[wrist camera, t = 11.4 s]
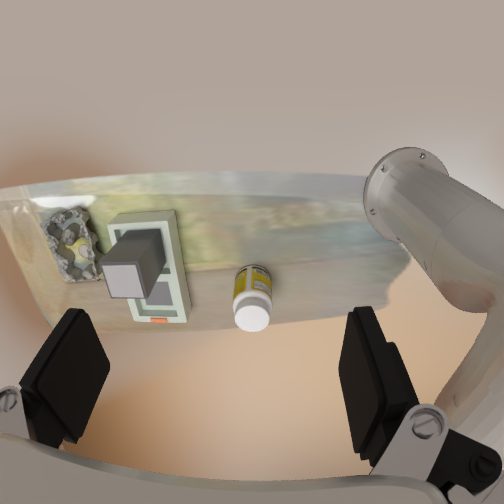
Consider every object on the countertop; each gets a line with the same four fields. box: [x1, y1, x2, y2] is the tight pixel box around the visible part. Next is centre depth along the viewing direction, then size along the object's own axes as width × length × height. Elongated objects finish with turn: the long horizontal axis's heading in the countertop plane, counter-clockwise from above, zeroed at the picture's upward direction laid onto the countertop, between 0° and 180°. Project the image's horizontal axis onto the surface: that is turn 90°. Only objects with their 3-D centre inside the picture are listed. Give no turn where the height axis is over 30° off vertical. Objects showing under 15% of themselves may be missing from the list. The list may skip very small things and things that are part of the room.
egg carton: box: [40, 206, 105, 282], centre depth 39 cm, size 11×8×4 cm
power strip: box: [107, 210, 192, 323], centre depth 40 cm, size 15×8×4 cm, turn 3°
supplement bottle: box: [233, 265, 272, 332], centre depth 39 cm, size 5×5×8 cm
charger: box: [100, 229, 166, 299], centre depth 35 cm, size 5×5×8 cm
